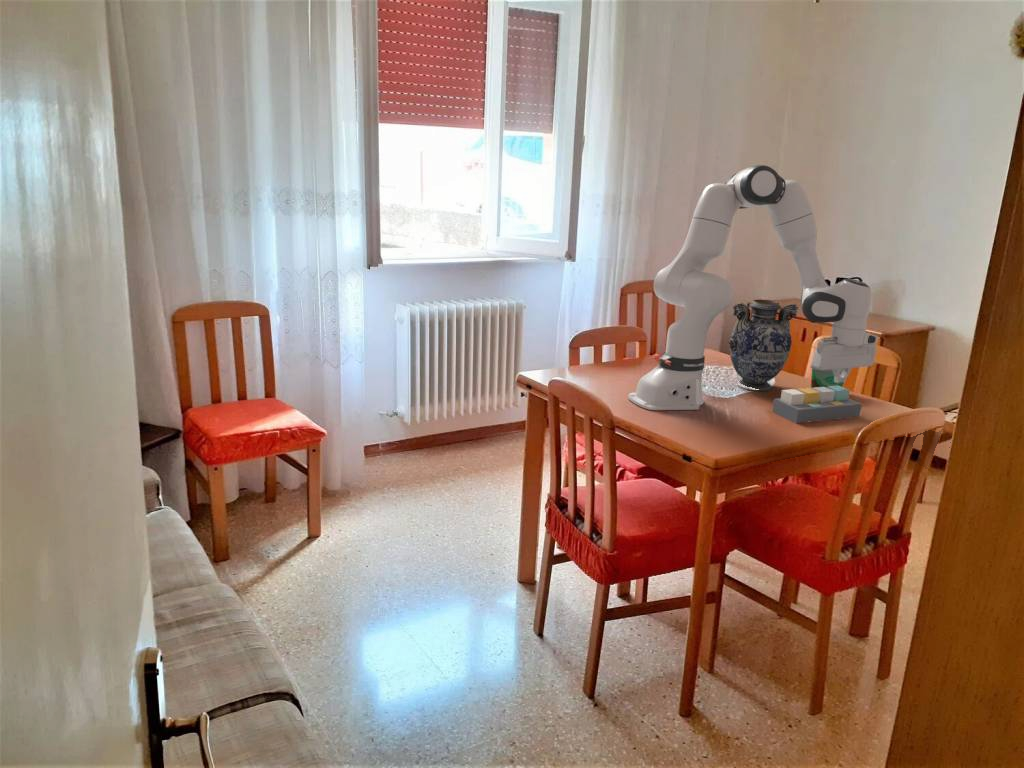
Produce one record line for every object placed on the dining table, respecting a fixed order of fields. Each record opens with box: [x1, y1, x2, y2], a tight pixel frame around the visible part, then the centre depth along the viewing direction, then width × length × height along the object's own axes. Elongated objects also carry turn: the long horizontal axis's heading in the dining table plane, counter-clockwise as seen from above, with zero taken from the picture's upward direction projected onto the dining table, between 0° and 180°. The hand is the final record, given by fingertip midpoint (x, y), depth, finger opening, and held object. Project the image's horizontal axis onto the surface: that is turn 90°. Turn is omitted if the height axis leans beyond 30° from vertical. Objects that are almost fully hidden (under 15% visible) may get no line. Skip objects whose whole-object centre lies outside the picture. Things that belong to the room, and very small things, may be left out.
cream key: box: [780, 388, 805, 405], centre depth 215 cm, size 4×4×4 cm
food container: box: [810, 364, 844, 389], centre depth 236 cm, size 12×6×10 cm, turn 99°
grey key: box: [812, 387, 835, 402], centre depth 219 cm, size 4×4×4 cm
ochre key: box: [796, 387, 820, 404], centre depth 217 cm, size 4×4×4 cm
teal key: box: [827, 385, 851, 401], centre depth 221 cm, size 4×4×4 cm
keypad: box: [772, 397, 863, 424], centre depth 217 cm, size 23×10×4 cm, turn 111°
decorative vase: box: [728, 299, 799, 392], centre depth 239 cm, size 21×19×28 cm
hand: (839, 382), depth 220 cm, fingers closed
